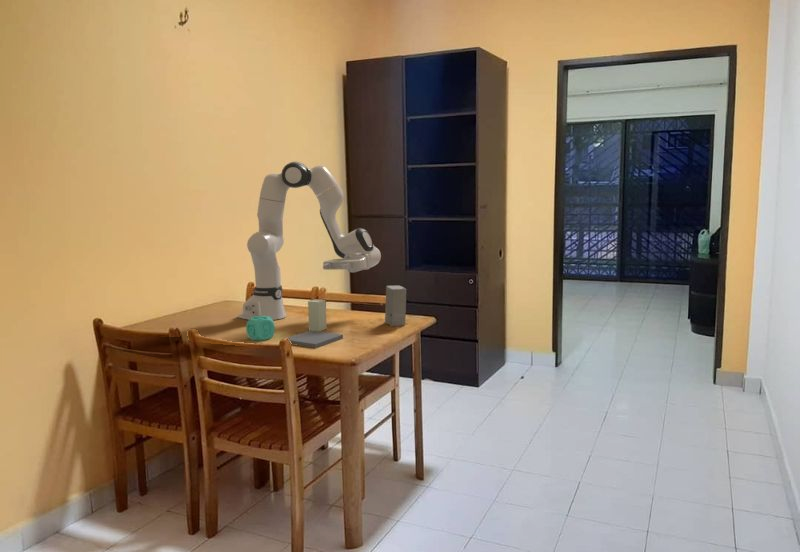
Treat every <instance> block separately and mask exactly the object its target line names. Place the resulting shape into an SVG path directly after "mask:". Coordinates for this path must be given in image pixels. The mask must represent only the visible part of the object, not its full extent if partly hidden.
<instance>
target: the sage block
mask: <svg viewBox="0 0 800 552" xmlns="http://www.w3.org/2000/svg"><path fill="white" fill-rule="evenodd" d="M326 301H327V300H325V299H318V298H316V299H315V298H314V299H312V300H308V301H307V307H308V309H307V310H308V328H309V330H308V331H310V330H313V331H320V332H323V331H326V330H327V329H328V328H327V327H328V326H327V325H328V323H327V304H326V303H327V302H326ZM325 329H326V330H325ZM322 330H323V331H322Z"/></svg>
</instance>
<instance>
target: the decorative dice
mask: <svg viewBox="0 0 800 552" xmlns="http://www.w3.org/2000/svg"><path fill="white" fill-rule="evenodd" d="M245 326H246V327H245V329H246V334H247V337H248V338H249V339H250V340H251V341H255V342H256V341H257V342H258V341H267V339H268V340H271V338H273V336H274V334H275V330H276V328H275V327H276V325H275V321H274V320H272V319H271V318H270V317H269V316H256V317H252V318H250V319H249V320H247V321H246V325H245Z"/></svg>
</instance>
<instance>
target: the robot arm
mask: <svg viewBox="0 0 800 552" xmlns="http://www.w3.org/2000/svg"><path fill="white" fill-rule="evenodd" d="M305 186H307V187H309V188H310V189H311V190H312V192H313V193H314V195H315V197H316V199H317V201H318V203H319V208H320V209H319V215H320V218H321V220H322V223H323V225H324V227H325V229H326V231H327V233H328V236H329V238H330V240H331V243H332V246H333V249H334V252H335V254H336V256H338V257H339V258H334V259H328V260H324V261H323V262H322V269H323V270H326V271H327V270H331V271H332V270H333V271H334V270H336V271H337V270H347V271H348V272H349V273H357V272H360V271H365V270H370V268H373V267H375V266H376V265H378V264H379V263H380V261H381V258H382V255H381V254H382V253H381V250H379V248H377V247H376V246H375V244H374V241H373V239H372V236H371V234H370V232H369V231H367V230H366V229H365V228H362V227H358V228H356V229H353V230H352V231H350V232H349V233H346V234H345V235H344V234H343V232H342V231H341V228H340V226H339V224H338V222H337V219H336V215H337V212H338V210H339V209H340V207H341V206H342V203H343V201H344V191H343V190H342V188H341V185H339V183H338V181H337V180H336V178H335V177H334V175H333V174H332V173H331V172H330V170H328V168H327V167H326V166H324V165H315V166H313V167H312V168H308V166H307V165H305V163H303V162H300V161H291V162H289V163H287V164H286V165H284V166H283V167H282V171H281V173H269V174H267V175H265V177H264V179H263V182H262V185H261V189H260V193H259V199H258V206H257V214H256V216H257V219H258V231H256V232H255V233H253V234H252V235H251V236H250V237H249V238H248V240H247V243H246V247H247V250H248V252H249V253H250V256H251V261H252V264H253V269H254V278H255V279H254V282H255V286H254V287H252V288H251V290H250V291H251V292H252V295H251V296H250V297H249V298H248V299H247V300H246V301H245V302H244V303H243V305H242V313H241V312H240V313H239V314H237V318H239V319H242V320H243V319H244V320H247V321H248V320H249V319H250V318H252V317H256V316H269V317H270V318H271V319H272V320H273V321H275V320H280V319H285V318H286V317H287V314H286V310H285V305H284V300H283V286H282V280H281V267H280V265H279V263H278V260H277V254H276V253H278V252H279V251H280V250H281V249H282V247H283V245H284V239H285V238H284V237H283V236H284V231H283V230H284V228H283V227H284V226H283V225H284V223H283V219H284V211H285V204H286V198H287V193H288V190H289V189H290V188H293V189H297V188H301V187H305Z"/></svg>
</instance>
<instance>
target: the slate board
mask: <svg viewBox="0 0 800 552" xmlns="http://www.w3.org/2000/svg"><path fill="white" fill-rule="evenodd" d="M287 338H288V339H289V340H290V341H291V343H292V344H297V345H296V346H299V345H301V346H300V347H305V346H307V347H308V348H312V347H313V349H314V348H315V349H318V348H320V346H321V347H323V346H327V345H328V344H331V343H335V342H338V341H340V340H343V339H344V334H343V333H334V332H326V331H313V330H307V331H305V332H301V333H298V334H294V335H291V336H287ZM292 344H291V345H292Z"/></svg>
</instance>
